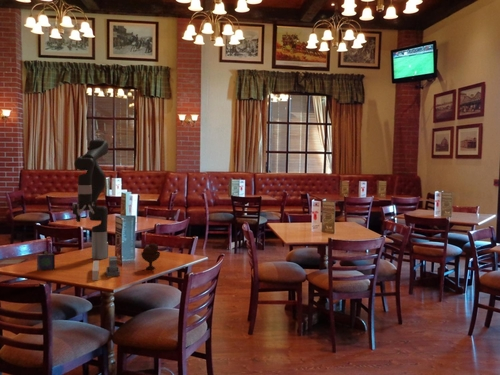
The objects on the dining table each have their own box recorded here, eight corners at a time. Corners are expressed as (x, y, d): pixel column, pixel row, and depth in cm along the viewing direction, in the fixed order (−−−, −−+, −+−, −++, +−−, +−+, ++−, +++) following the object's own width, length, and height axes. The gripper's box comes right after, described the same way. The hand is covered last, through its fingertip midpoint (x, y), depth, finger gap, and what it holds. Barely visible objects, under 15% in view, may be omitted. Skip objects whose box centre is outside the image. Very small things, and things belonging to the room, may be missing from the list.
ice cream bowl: (151, 265, 271) (152, 241, 270) (163, 268, 264) (164, 243, 263) (137, 268, 263) (137, 243, 262) (149, 272, 256) (149, 246, 255)
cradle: (106, 271, 256) (106, 266, 256) (118, 270, 258) (118, 266, 258) (106, 276, 244) (106, 272, 243) (119, 276, 246) (119, 271, 246)
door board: (93, 269, 259) (93, 260, 259) (98, 269, 260) (98, 260, 259) (92, 280, 236) (92, 270, 236) (98, 280, 237) (98, 270, 237)
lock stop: (109, 270, 255) (109, 256, 254) (116, 270, 256) (116, 256, 256) (109, 274, 245) (109, 260, 245) (116, 274, 247) (116, 260, 246)
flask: (36, 270, 253) (36, 252, 253) (37, 269, 256) (37, 251, 255) (54, 269, 256) (54, 251, 256) (55, 268, 259) (55, 250, 258)
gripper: (91, 191, 264) (91, 218, 266) (69, 193, 253) (70, 221, 254) (99, 192, 260) (99, 220, 261) (77, 194, 248) (77, 223, 250)
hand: (85, 221), depth 258 cm, fingers open, 8 cm apart
